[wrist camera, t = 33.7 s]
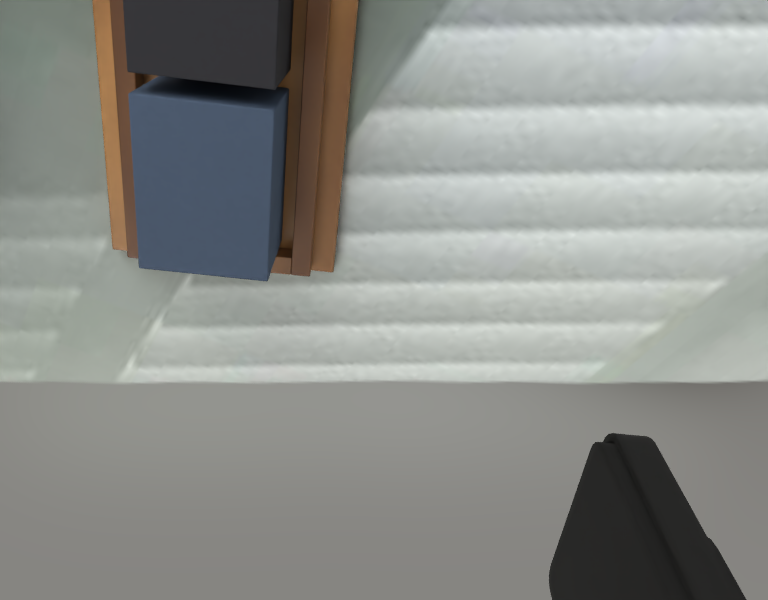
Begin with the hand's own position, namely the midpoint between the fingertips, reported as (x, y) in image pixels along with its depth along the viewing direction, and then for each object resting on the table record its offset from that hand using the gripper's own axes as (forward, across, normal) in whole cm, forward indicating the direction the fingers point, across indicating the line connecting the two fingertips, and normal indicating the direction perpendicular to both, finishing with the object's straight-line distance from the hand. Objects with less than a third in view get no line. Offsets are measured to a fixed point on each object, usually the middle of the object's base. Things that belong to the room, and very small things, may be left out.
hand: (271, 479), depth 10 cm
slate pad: (+26, +6, +3) cm, 26 cm away
